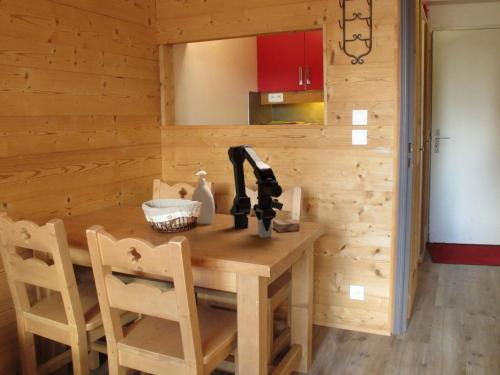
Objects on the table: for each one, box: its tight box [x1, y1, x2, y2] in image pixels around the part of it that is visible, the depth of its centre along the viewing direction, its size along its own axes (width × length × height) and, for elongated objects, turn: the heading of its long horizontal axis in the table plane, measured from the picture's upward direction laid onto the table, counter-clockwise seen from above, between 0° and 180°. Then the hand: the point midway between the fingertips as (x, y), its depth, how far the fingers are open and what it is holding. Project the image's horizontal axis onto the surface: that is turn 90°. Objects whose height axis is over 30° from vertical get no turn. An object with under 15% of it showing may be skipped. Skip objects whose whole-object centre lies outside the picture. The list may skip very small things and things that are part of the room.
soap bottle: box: [191, 170, 216, 225], centre depth 252 cm, size 14×8×27 cm, turn 56°
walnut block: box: [272, 218, 301, 233], centre depth 238 cm, size 10×10×4 cm
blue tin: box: [257, 219, 273, 238], centre depth 225 cm, size 5×5×7 cm
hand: (264, 229), depth 225 cm, fingers open, 9 cm apart
